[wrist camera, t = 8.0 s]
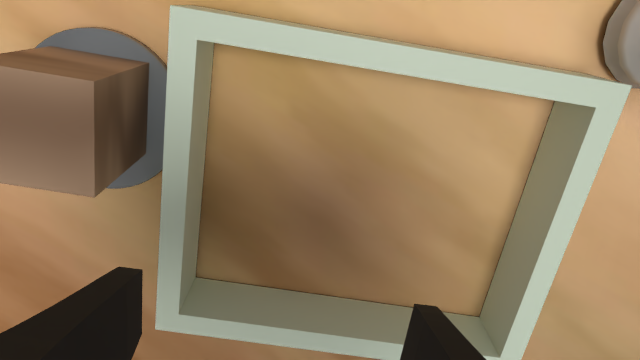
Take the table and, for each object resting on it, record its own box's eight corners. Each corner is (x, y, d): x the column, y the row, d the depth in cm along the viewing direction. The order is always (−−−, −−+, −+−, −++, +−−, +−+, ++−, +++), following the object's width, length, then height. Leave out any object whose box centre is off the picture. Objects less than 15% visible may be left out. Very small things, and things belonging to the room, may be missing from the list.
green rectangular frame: (491, 334, 25) (513, 377, 22) (174, 291, 24) (155, 329, 21) (587, 74, 20) (632, 85, 17) (192, 5, 19) (169, 5, 16)
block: (146, 153, 20) (94, 197, 16) (54, 139, 20) (-26, 179, 16) (149, 62, 19) (94, 81, 14) (50, 46, 19) (-39, 59, 14)
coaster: (180, 194, 22) (177, 199, 21) (30, 171, 21) (22, 176, 21) (190, 42, 19) (186, 43, 19) (20, 13, 19) (10, 14, 18)
